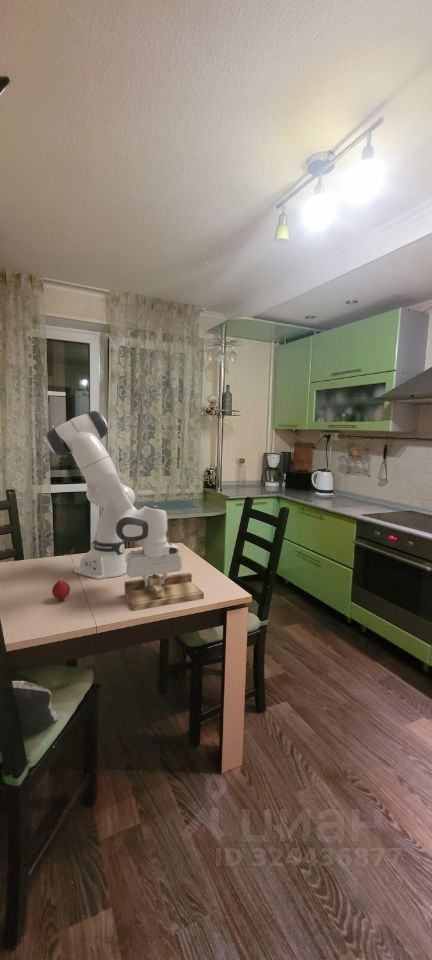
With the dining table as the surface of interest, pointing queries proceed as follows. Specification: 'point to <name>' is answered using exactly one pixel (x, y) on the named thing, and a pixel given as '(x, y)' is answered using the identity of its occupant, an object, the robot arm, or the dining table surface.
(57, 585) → the onion
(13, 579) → the dining table surface
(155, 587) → the gauge
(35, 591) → the dining table surface
